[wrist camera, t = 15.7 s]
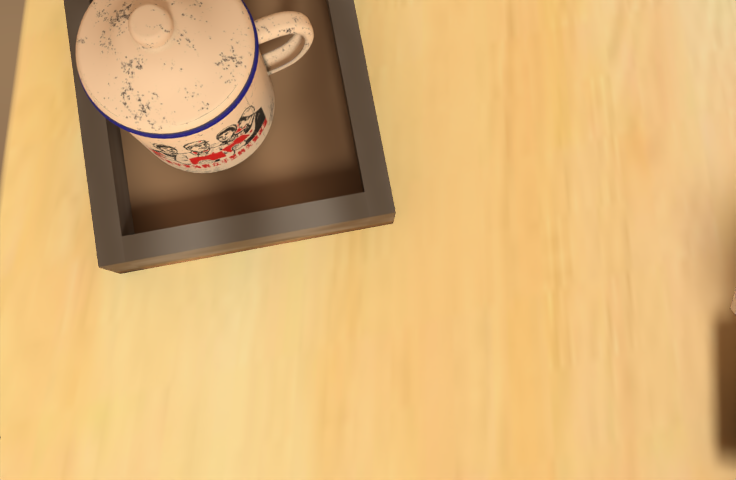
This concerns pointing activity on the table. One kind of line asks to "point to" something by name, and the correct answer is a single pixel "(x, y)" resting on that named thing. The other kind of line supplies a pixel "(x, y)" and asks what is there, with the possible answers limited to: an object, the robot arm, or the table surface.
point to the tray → (247, 160)
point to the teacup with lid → (187, 74)
